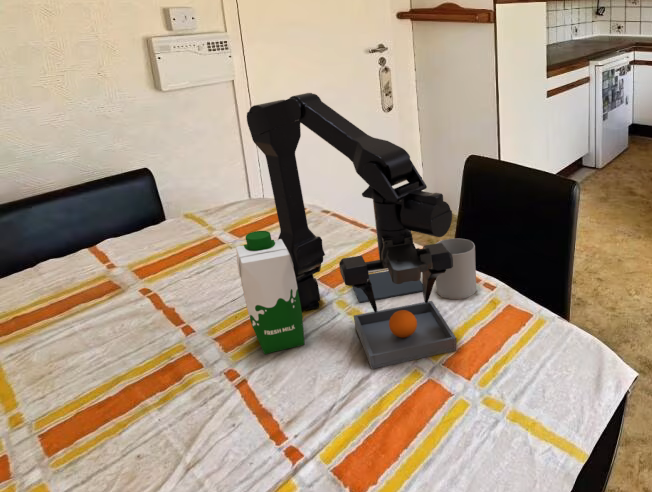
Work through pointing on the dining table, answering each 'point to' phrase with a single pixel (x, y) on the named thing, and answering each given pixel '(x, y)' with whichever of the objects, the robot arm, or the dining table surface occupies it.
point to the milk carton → (270, 292)
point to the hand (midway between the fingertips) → (401, 306)
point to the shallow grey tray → (392, 349)
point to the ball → (403, 323)
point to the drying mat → (388, 287)
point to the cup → (458, 270)
